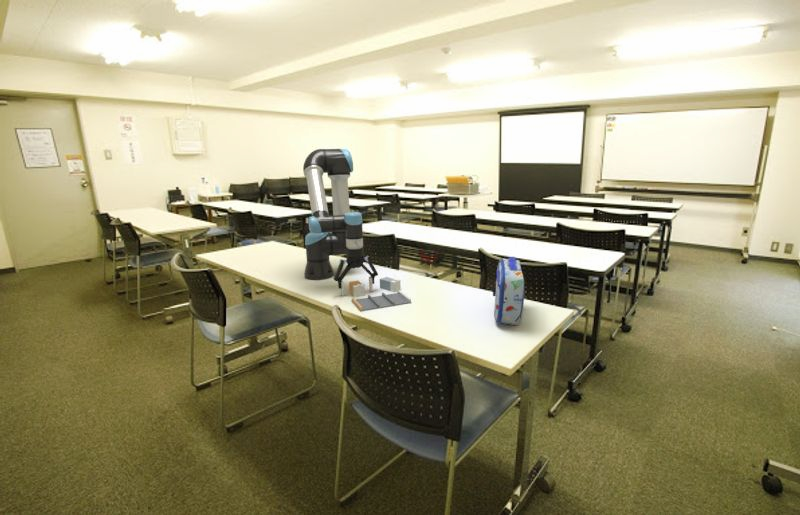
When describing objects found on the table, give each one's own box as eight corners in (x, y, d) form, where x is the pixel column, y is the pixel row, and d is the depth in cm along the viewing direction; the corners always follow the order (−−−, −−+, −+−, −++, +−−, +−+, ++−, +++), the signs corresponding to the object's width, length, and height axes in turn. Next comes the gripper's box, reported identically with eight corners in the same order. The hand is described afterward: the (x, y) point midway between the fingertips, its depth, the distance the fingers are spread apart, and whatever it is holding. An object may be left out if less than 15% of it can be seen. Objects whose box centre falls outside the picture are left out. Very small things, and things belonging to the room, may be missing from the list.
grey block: (379, 288, 183) (379, 277, 182) (386, 285, 187) (386, 275, 185) (393, 292, 177) (393, 281, 176) (400, 289, 181) (400, 278, 179)
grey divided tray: (351, 301, 167) (351, 297, 166) (399, 293, 175) (399, 290, 175) (360, 311, 155) (360, 307, 155) (411, 302, 164) (411, 299, 163)
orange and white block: (349, 291, 180) (348, 280, 179) (358, 289, 182) (358, 278, 180) (354, 297, 172) (354, 285, 171) (364, 295, 174) (364, 284, 172)
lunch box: (492, 302, 163) (494, 251, 158) (517, 303, 161) (520, 252, 156) (494, 329, 137) (497, 270, 132) (524, 331, 135) (528, 271, 130)
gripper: (328, 252, 163) (331, 299, 168) (384, 246, 173) (385, 291, 178) (325, 248, 170) (328, 294, 175) (378, 243, 180) (379, 286, 185)
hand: (356, 292), depth 177 cm, fingers open, 13 cm apart
